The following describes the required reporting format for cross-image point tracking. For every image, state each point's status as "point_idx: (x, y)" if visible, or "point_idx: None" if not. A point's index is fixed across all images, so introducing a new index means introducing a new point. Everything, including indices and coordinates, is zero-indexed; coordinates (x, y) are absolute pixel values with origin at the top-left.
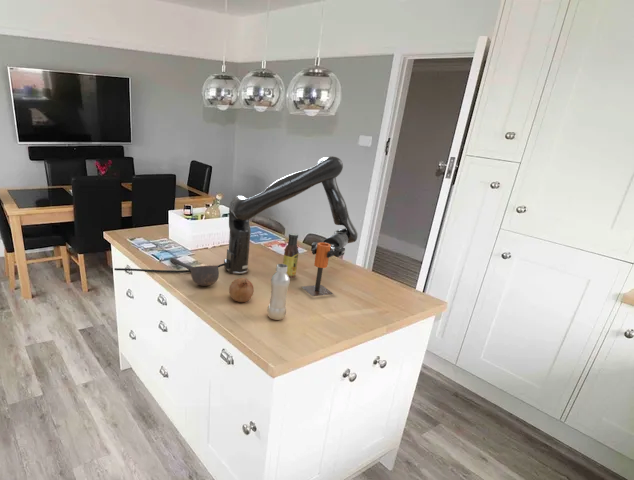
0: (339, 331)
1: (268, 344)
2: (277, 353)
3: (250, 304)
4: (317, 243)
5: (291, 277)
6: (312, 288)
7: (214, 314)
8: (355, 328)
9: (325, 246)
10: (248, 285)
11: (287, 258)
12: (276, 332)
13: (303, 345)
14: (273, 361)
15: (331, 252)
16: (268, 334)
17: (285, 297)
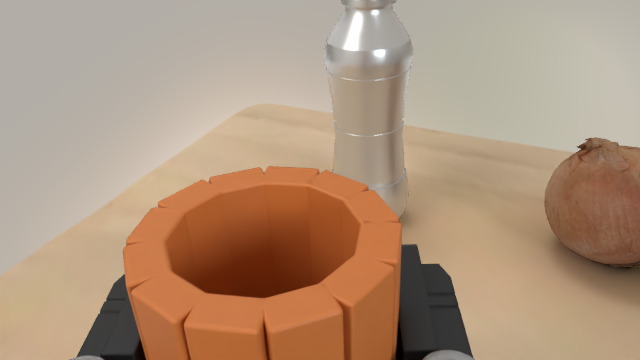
0: (94, 254)
1: (307, 131)
2: (269, 121)
3: (535, 246)
4: (398, 218)
5: None
6: None
7: (551, 154)
8: (10, 303)
9: (215, 177)
10: (572, 162)
11: None
12: (316, 167)
13: (214, 158)
14: (265, 106)
15: (114, 321)
16: (332, 154)
17: (334, 124)
